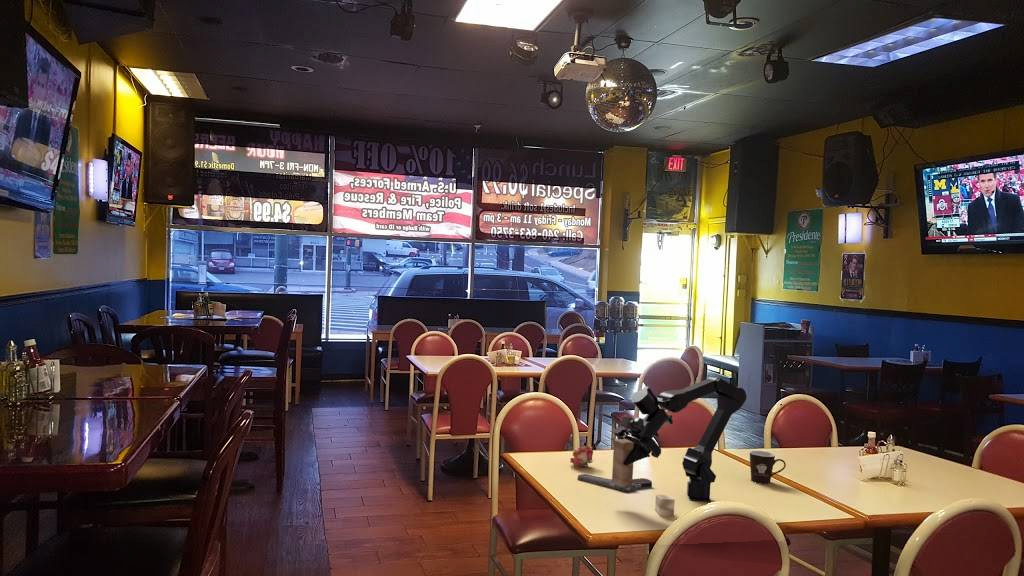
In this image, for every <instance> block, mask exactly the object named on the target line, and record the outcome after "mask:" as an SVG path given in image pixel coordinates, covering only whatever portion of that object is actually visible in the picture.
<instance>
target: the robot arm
mask: <svg viewBox="0 0 1024 576" xmlns="http://www.w3.org/2000/svg"><path fill="white" fill-rule="evenodd" d="M712 393H715V394H716V395H717V397H716V402H717V405H716V407H717V408H716V409H715V411H714V413H713V416H712V417H711V419H710V421H709V423H708V425H707V426H706V429H705V430H704V432H703V434H702V435H701V436H702V437H701V438H700V440H699V442H698V444H697V445H696V446H695V447H693V448H692V447H688V448H687V450H686V451H685V454H684V456H683V457H682V463H681V465H682V468H683V470H684V472H685V473H684V474H685V477H688V478H689V481H687V484H686V495H687V497H688V498H689V500H690V501H698V502H711V500H712V499H711V483H715V481H716V478H717V475H716V474H715V472H714V471H713V470H712V469H711V467H712V464H713V451H714V450H715V447H716V446H717V443H718V442H719V440H720V438H721V437H722V435H723V433H724V430H725V429H726V426H727V425H728V422H729V421H730V419H731V417H732V415H734V414H736V412H737V411H739V410H740V409H741V408H742V407H743V405H744V404H745V402H746V401H747V393H746V391H745V389H744V388H743V387H739V386H736V385H734V384H731V383H729V382H727V381H726V380H724V379H723V378H721V377H718V376H709V377H707V378H706V379H704V380H701V381H699V382H696V383H693V384H692V385H689V386H687V387H684V388H681V389H670V390H666V391H662V392H661V393H659V395H656V394H655V393H654V392H653V391H652V389H651V387H649V386H644V387H643V388H641V389H639V390H637V391H636V392H634V393H633V394H632V395H631V398H630V399H631V402H632V403H633V405H634V406H635V407H636V408H637V409H638V411H639V412H640V413H641V414H642V415H645V417H644V418H643V419H642V418H641V417H637V416H636V417H635V419H634V418H632V417H630V416H627V415H623V416H622V418H621V421H620V423H619V425H620V426H621V427H620V426H617V427H615V429H613V431H612V432H613V433H612V434H614V435H615V436H616V438H617V439H626V440H629V441H631V442H634V447H633V450H632V451H631V452H630V454H629V455H628V457H627V458H626V459H625V461H624V463H623V464H624V465H625V466H626V465H629V464H631V463H633V464H634V463H635V462H637V461H641V460H643V459H645V458H650V457H652V458H653V457H654V458H656V459H658V458H659V457H660V456H661V454H662V447H660V446H659V445H658V443H657V442H656V441H655V440H654V439H653V438H654V437H655V438H658V437H659V436H660V435H659V433H658V432H659V431H660V430H661V428H662V427H663V426H664V425H665V423H667V424H669V425H673V423H674V421H673V415H671V414H668V413H667V411H668V412H670V413H679V412H681V411H682V410H684V409H685V408H687V406H688V404H690V403H691V402H693V401H695V400H699V399H701V398H703V397H705V396H707V395H710V394H712ZM623 427H625V428H623ZM627 429H628V430H627Z"/></svg>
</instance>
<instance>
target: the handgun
mask: <svg viewBox="0 0 1024 576" xmlns="http://www.w3.org/2000/svg"><path fill="white" fill-rule="evenodd" d="M578 479H579V480H578ZM577 480H578V481H582V480H583V481H582V482H586V481H587V483H589V482H591V483H590V484H593V483H595V484H594V485H597V484H598V486H601V485H602V486H601V487H605V486H606V488H609V487H610V488H609V489H613V488H614V490H619V491H622V492H626V493H627V492H631V491H632V492H635V491H636V489H647V487H648V488H652V487H653V482H652V480H650V479H649V478H643V477H642V478H633V480H632V486H622V487H621V486H619V485H617V484H615V483H613V482H612V478H611V479H609V478H605V477H600V476H598V475H597V476H596V475H591V474H587V473H581V474H578V475H577Z"/></svg>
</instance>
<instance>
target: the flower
mask: <svg viewBox="0 0 1024 576" xmlns="http://www.w3.org/2000/svg"><path fill="white" fill-rule="evenodd" d="M593 454H594V449H593V446H591V447H590V446H588V445H583V446H582V447H579V448H577V449H574V451H572V457H570V461H569V462H570V463H572V465H573V466H574V465H575V466H574V467H582V466H585V467H586V469H589V468H590V466H589V464H592V463H593V462H594V460H593Z"/></svg>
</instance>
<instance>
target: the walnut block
mask: <svg viewBox="0 0 1024 576" xmlns="http://www.w3.org/2000/svg"><path fill="white" fill-rule="evenodd" d="M633 447H634V442H631V441H629V440H626V439H618V438H617V439H613V455H612V473H611V474H612V476H611V479H612V482H613V483H615V484H617V485H619V486H621V487H622V486H632V480H633V479H634V477H633V476H634V462H633V463H631V464H629V465H626V466H625V465H624V464H623V463H624V461H625V459H626V458H627V457H628V455H629V454H630V452H631V451H632V450H633Z"/></svg>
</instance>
